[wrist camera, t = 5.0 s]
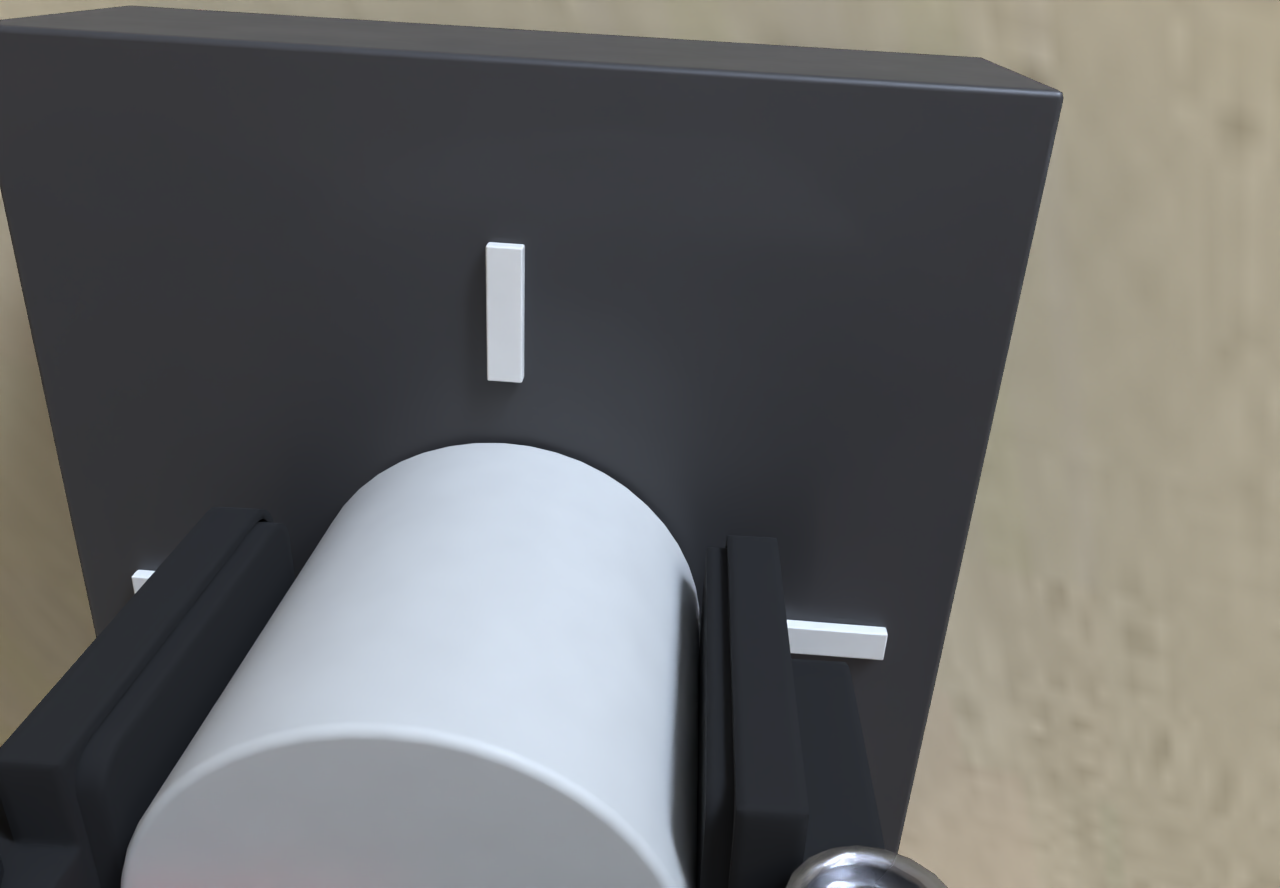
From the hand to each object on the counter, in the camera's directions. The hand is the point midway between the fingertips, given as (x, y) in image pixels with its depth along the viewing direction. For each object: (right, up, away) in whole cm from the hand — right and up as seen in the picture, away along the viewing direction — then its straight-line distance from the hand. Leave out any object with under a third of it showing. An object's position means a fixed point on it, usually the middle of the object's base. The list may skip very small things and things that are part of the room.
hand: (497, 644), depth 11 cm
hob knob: (0, 0, +1) cm, 1 cm away
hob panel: (0, +2, +3) cm, 4 cm away
